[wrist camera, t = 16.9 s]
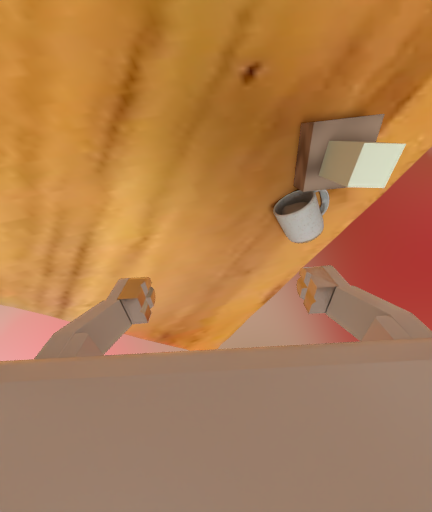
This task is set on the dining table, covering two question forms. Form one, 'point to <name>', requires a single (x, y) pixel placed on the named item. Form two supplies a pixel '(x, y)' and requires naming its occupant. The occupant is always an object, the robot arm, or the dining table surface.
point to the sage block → (360, 163)
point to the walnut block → (317, 140)
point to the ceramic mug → (301, 215)
